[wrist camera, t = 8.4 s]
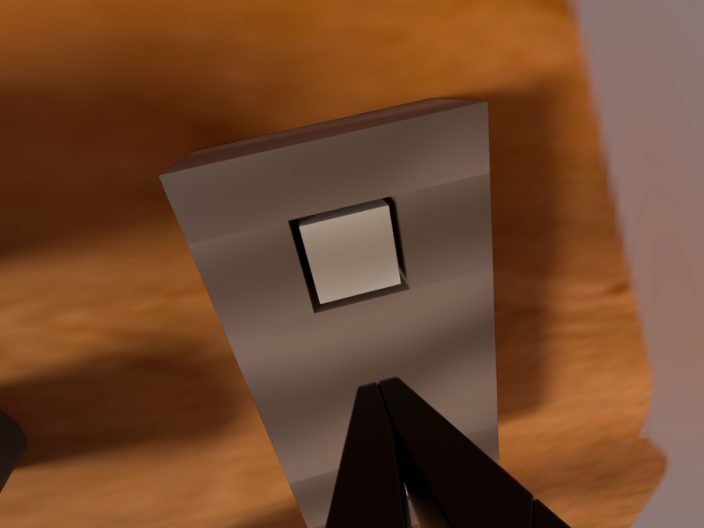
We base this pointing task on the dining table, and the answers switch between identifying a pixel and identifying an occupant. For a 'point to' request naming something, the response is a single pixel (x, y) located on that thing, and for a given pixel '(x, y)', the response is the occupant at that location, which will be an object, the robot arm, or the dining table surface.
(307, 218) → the peg
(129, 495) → the dining table surface
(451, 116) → the grey peg board
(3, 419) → the coffee cup
